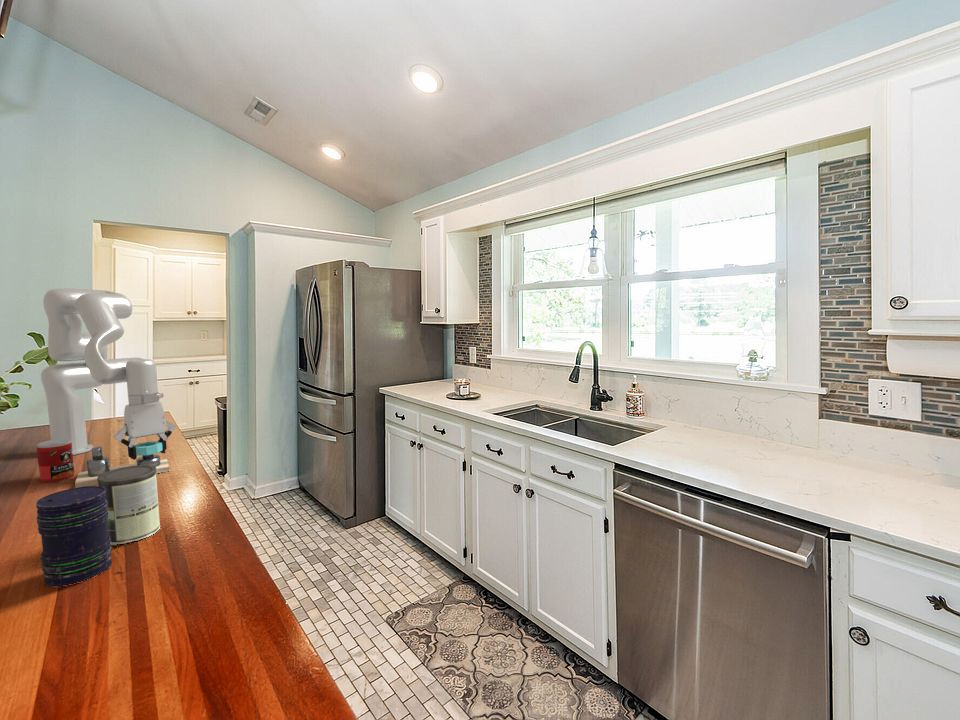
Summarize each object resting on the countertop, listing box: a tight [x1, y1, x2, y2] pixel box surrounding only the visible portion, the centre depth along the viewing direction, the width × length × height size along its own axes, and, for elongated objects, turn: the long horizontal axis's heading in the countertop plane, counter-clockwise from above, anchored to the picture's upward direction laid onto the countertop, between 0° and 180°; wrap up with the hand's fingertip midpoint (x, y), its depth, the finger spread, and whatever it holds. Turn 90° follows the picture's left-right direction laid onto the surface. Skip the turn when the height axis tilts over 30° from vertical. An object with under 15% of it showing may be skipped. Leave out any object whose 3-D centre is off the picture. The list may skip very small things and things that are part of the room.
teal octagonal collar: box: [134, 440, 163, 457], centre depth 143 cm, size 7×7×2 cm
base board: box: [74, 458, 170, 488], centre depth 140 cm, size 11×22×2 cm, turn 127°
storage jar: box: [35, 485, 113, 587], centre depth 86 cm, size 10×10×15 cm
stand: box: [86, 446, 111, 477], centre depth 136 cm, size 5×5×8 cm
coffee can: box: [97, 465, 161, 546], centre depth 101 cm, size 10×10×14 cm
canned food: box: [36, 439, 75, 483], centre depth 137 cm, size 8×8×11 cm
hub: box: [135, 454, 161, 467], centre depth 143 cm, size 6×6×6 cm
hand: (148, 455), depth 143 cm, fingers closed on teal octagonal collar, 7 cm apart
